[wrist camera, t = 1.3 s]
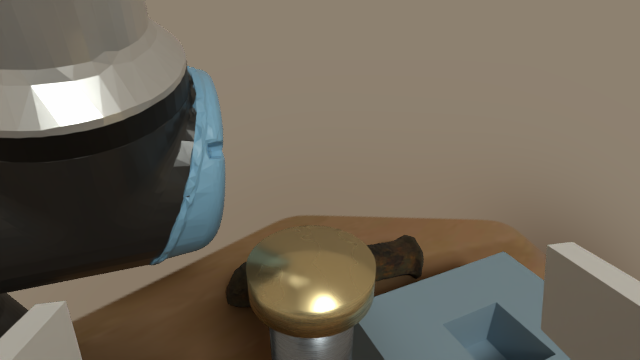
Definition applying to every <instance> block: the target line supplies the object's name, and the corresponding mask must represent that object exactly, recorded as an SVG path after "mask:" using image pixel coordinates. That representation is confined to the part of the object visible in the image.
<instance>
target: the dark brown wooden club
mask: <svg viewBox="0 0 640 360" xmlns="http://www.w3.org/2000/svg"><path fill="white" fill-rule="evenodd" d="M367 246H368V248H369V249H370V250H371V252H372V254H373V255H374V258H375V262H376V275H375V281H379V280H382V279H387V278H392V277H396V276H400V275H407V274H410V275H412V276H413V277H414V278H416V279H417V278H418V277H420V276H421V274H422V267H423V252H422V250H421V248H420V246H419V245H418V243H417V242H416V239H415V238H414V237H411V236H407V235H403V236H402V237H400V238H398V239H397V240H394V241H391V242H387V243H378V244H374V245H367ZM246 263H247V262H245V263H243V264H242V265H241V266H240V267H239V268H238V269H236V270H235V271H234V274H233V276H232V278H231V280H230V282H229V284H228V286H227V290H226V295H227V301H228V304H230V305H232V306H236V307H238V306H239V307H251V305H250V302H249V293H248V284H247V274H246Z"/></svg>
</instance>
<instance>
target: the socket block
mask: <svg viewBox="0 0 640 360" xmlns="http://www.w3.org/2000/svg"><path fill="white" fill-rule="evenodd" d="M543 292H544V280H542V279H541V278H540V277H538V276H537V275H536V274H534V273H533V272H531V271H530V270H529V269H527V268H526V267H525V266H523V265H522V264H520V263H519V262H518V261H516V260H515V259H514V258H512V257H511V256H509V255H508V254H507V253H505V252H501V253H498V254H495V255H492V256H490V257H487V258H484V259H481V260H478V261H475V262H472V263H470V264H467V265H464V266H461V267H458V268H455V269H453V270H450V271H447V272H444V273H441V274H438V275H435V276H433V277H430V278H427V279H424V280H421V281H418V282H415V283H413V284H410V285H407V286H404V287H401V288H398V289H395V290H393V291H390V292H387V293H384V294H381V295H378V296H376V297H374V298H373V302H372V305H371V308H370V310H369V311H368V313H367V314H366V316H365V317H364V318H363V319H362V320H361V321H360V322H359V323H357V324H356V325H355V326H354V331H353V347H352V360H571V359H570V358H569V357H568V356H567V355H566V354H565V353H564V352H563V351H562V350H561V349H560V348H559V347H558V346H557V345H556V344H555V343H554V342H553V341H552V340H551V339H550V338H549V337H548V336H547V335H546V334H545V333H544V332H543V331H542V330H541V318H542V305H543Z"/></svg>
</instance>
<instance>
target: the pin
mask: <svg viewBox="0 0 640 360" xmlns="http://www.w3.org/2000/svg"><path fill="white" fill-rule="evenodd" d="M246 274H247V284H248V293H249V302H250V305H251V308H252V310H253V311H254V313H255V315H256V316H257V317H258V318H259V319H260V320H261V321H262V322H263V323H264V324H265V325H267V326H268V327H269V328H270V341H271V355H272V360H352V347H353V331H354V326H355V325H356V324H357V323H359V322H360V321H361V320H362V319H363V318H364V317H365V316H366V314H367V313H368V311H369V310H370V308H371V305H372V302H373V298H374V287H375V275H376V262H375V258H374V255H373V254H372V252H371V250H370V249H369V248H368V246H367V245H366V244H365V243H364V242H362V241H361V240H360V239H358V238H357V237H355V236H353V235H352V234H350V233H347V232H345V231H342V230H339V229H335V228H331V227H325V226H299V227H293V228H288V229H285V230H281V231H279V232H276V233H274V234H272V235H270V236H268V237H267V238H265V239H263V240H262V241H261V242H260V243H258V244H257V245H256V247H255V248H254V249H253V250H252V252H251V253H250V255H249V257H248V260H247V263H246Z"/></svg>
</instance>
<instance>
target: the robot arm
mask: <svg viewBox="0 0 640 360" xmlns="http://www.w3.org/2000/svg"><path fill="white" fill-rule="evenodd" d="M222 148H223V126H222V119H221V112H220V105H219V101H218V96H217V92H216V89H215V86H214V84H213V81H212V79H211V77H210V76H209V75H208V74H207V73H206V72H205V71H203V70H200V69H199V70H198V69H195V68H194V67H191V68H189V66H187V61H186V55H185V51H184V48H183V46H182V45H181V43H180V42H179V40H178V39H177V38H176V37H175V36H174V35H173V34H171V33H170V32H168V31H167V30H166V29H164V28H163V27H162V26H160V25H159V24H158V23H156V22H155V21H154V20H152V19H151V18H150V17H148V13H147V8H146V2H145V0H0V360H82V357H81V353H80V350H79V346H78V343H77V339H76V335H75V332H74V328H73V324H72V321H71V317H70V314H69V310H68V306H67V302H66V301H59V302H50V303H42V304H35V305H34V306H33V307H32V308H31V309H30V310H29V311H28V310H27V309H26V308H25V307H23V306H22V305H21V304H19V303H18V302H17V301H16V300H14V299H13V298H12V297H11V296H10V295H8V294H7V292H12V291H18V290H22V289H28V288H33V287H38V286H43V285H48V284H53V283H58V282H63V281H68V280H73V279H78V278H83V277H88V276H93V275H98V274H104V273H109V272H114V271H119V270H124V269H129V268H134V267H139V266H144V265H156V264H159V263H161V262H162V261H164V260H165V259H167V258H171V257H175V256H178V255H182V254H186V253H189V252H193V251H197V250H199V249H201V248H203V247H205V246H206V245H208V244H209V242H211V241H212V240H213V238H214V237H215V235H216V234H217V231H218V229H219V227H220V223H221V220H222V215H223V207H224V197H225V160H224V156H223V153H222ZM541 330H542V331H543V332H544V333H545V334H546V335H547V336H548V337H549V338H550V339H551V340H552V341H553V342H554V343H555V344H556V345H557V346H558V347H559V348H560V349H561V350H562V351H563V352H564V353H565V354H566V355H567V356H568V357H569V358H570V359H571V360H640V281H638V280H636V279H634V278H633V277H631V276H629V275H628V274H626V273H624V272H623V271H621V270H619V269H617V268H616V267H614V266H613V265H611V264H609V263H607V262H606V261H604V260H602V259H601V258H599V257H597V256H596V255H594V254H592V253H591V252H589V251H587V250H586V249H584V248H582V247H580V246H579V245H577V244H575V243H574V242H569V243H560V244H552V245H547V253H546V266H545V279H544V292H543V305H542V318H541Z"/></svg>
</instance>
